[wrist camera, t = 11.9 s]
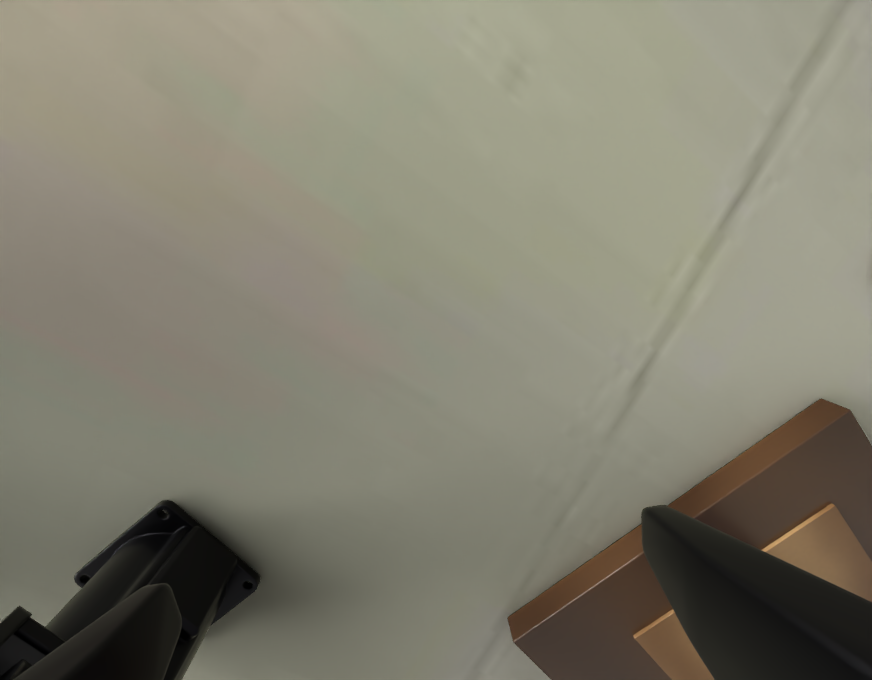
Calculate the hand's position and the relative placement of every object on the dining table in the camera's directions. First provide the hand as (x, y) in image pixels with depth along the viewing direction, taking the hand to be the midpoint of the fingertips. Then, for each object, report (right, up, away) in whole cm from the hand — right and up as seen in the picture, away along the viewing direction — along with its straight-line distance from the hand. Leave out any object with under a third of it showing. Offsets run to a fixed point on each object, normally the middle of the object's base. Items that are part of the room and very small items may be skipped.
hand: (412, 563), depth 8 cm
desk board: (+17, -11, +16) cm, 26 cm away
